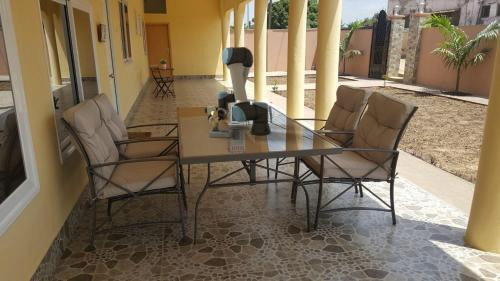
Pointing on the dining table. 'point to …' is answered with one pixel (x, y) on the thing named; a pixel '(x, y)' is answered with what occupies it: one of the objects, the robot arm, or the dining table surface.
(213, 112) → the gold metal cylinder
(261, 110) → the robot arm
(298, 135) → the dining table surface
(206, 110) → the pneumatic valve
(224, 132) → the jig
